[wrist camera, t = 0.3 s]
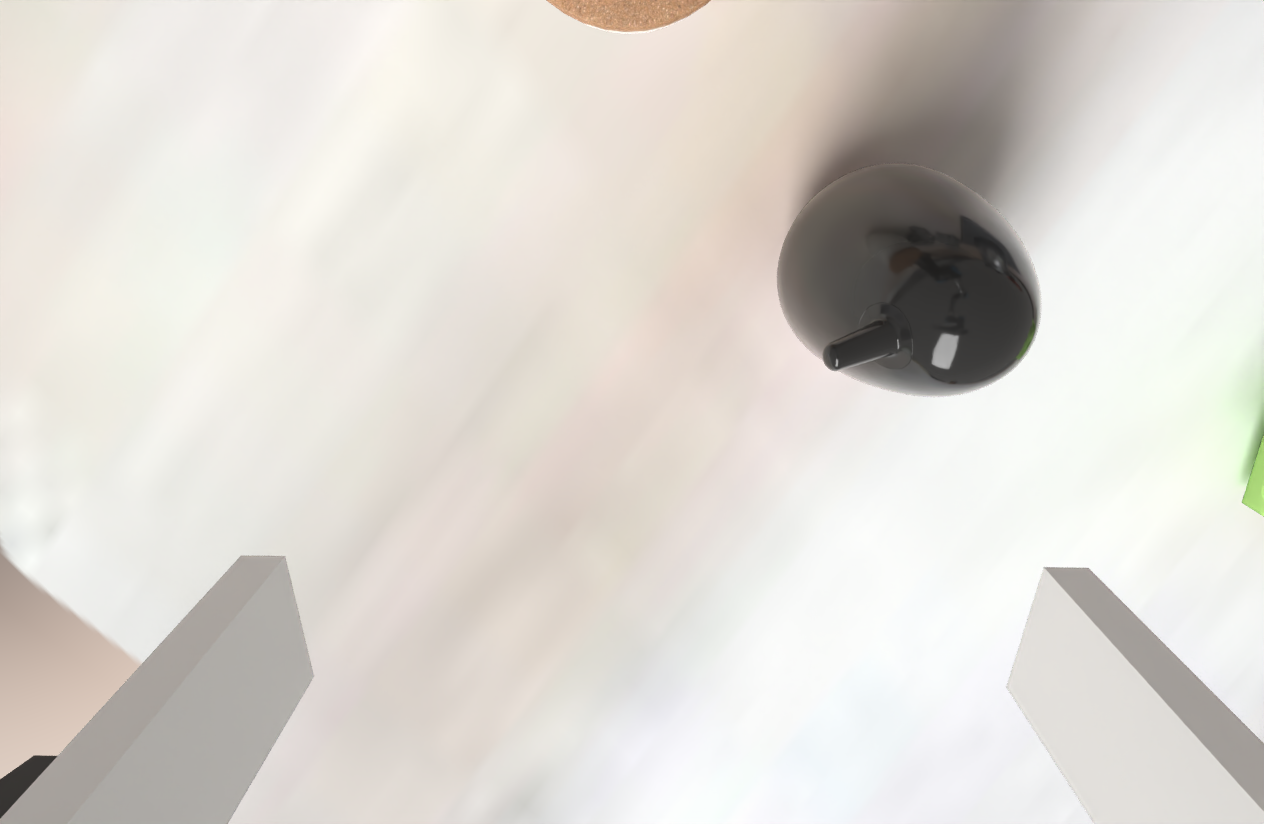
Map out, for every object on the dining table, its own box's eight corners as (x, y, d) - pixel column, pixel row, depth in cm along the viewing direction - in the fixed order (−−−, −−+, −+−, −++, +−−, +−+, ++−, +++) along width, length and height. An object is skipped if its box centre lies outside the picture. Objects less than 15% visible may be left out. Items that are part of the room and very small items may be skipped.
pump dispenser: (748, 183, 35) (818, 224, 21) (948, 138, 34) (1158, 151, 20) (772, 361, 39) (845, 493, 25) (953, 326, 38) (1131, 443, 24)
